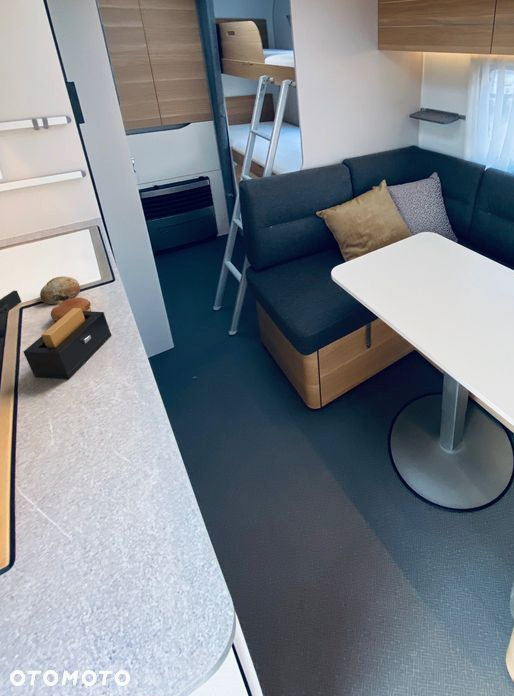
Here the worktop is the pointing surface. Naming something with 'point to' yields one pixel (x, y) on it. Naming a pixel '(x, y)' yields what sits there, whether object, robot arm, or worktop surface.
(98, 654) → the worktop surface
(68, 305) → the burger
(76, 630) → the worktop surface
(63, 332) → the toast
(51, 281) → the rock
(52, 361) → the toaster
